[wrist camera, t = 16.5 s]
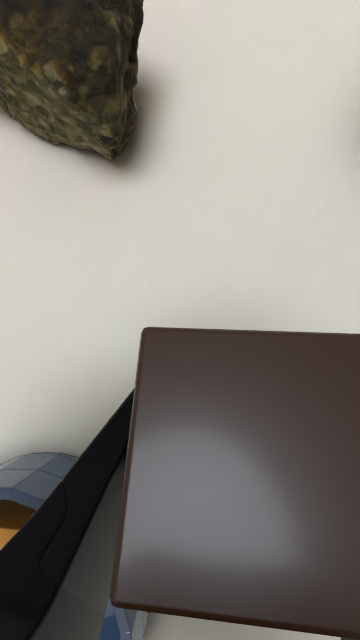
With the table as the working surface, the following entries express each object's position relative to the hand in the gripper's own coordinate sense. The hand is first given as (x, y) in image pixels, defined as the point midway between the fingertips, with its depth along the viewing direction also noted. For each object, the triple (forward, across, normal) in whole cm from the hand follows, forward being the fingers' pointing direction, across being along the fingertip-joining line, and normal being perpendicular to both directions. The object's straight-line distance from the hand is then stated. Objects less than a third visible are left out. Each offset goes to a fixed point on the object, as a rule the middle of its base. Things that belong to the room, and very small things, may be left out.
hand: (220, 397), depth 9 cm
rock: (+18, +10, -7) cm, 22 cm away
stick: (+3, 0, +7) cm, 8 cm away
